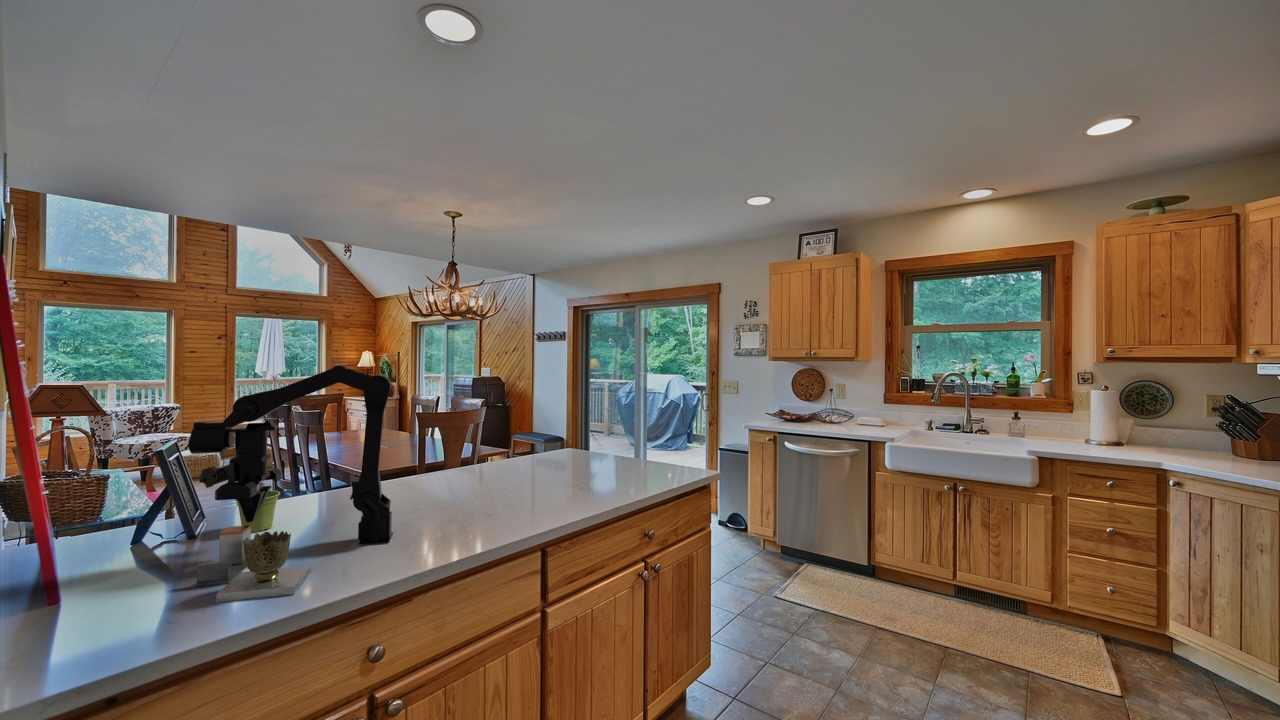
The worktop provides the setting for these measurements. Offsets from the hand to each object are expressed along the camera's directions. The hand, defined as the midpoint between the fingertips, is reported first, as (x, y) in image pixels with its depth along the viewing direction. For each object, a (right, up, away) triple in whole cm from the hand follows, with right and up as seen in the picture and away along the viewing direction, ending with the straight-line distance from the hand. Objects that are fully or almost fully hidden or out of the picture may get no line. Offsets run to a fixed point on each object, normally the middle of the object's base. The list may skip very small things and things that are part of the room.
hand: (250, 521), depth 116 cm
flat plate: (+15, -7, -16) cm, 23 cm away
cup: (+15, -6, -16) cm, 23 cm away
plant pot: (-11, -7, +17) cm, 21 cm away
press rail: (+3, -7, -10) cm, 13 cm away
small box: (+2, -6, -7) cm, 9 cm away
